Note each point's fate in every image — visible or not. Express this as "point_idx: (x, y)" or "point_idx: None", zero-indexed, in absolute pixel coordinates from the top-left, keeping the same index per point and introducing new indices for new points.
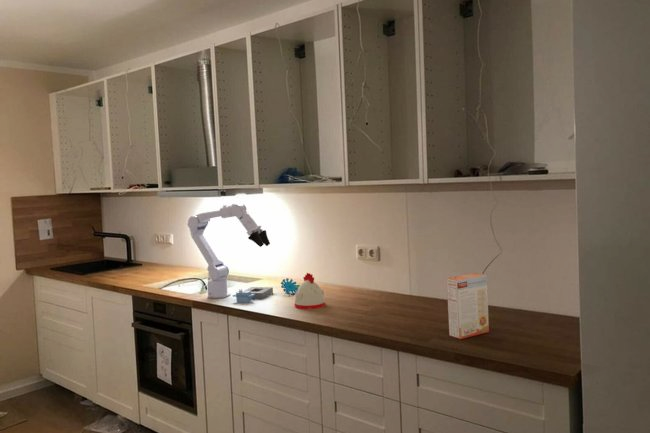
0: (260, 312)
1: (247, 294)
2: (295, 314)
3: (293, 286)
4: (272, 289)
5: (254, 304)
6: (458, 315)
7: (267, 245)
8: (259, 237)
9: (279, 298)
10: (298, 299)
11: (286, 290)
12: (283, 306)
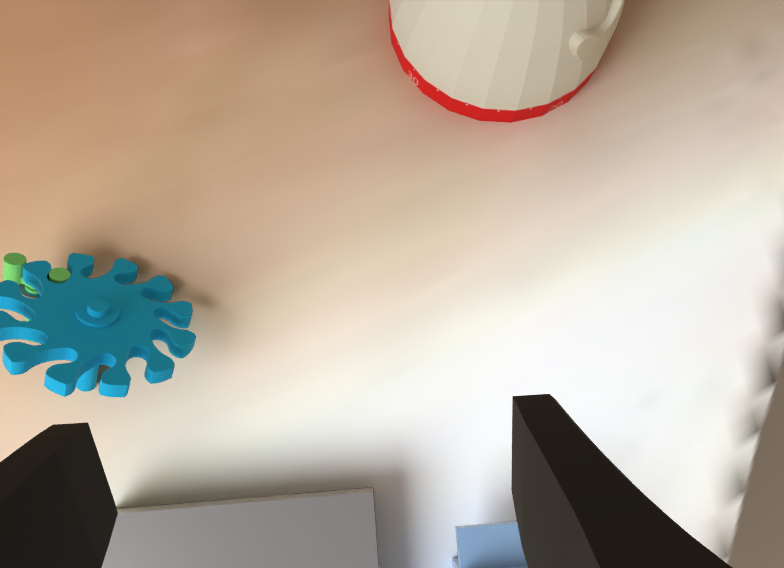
0: (779, 279)
1: None
2: (749, 25)
3: (79, 291)
4: None
5: None
6: None
7: (110, 492)
8: (659, 540)
9: (319, 343)
10: (616, 26)
11: (163, 335)
12: (570, 191)
